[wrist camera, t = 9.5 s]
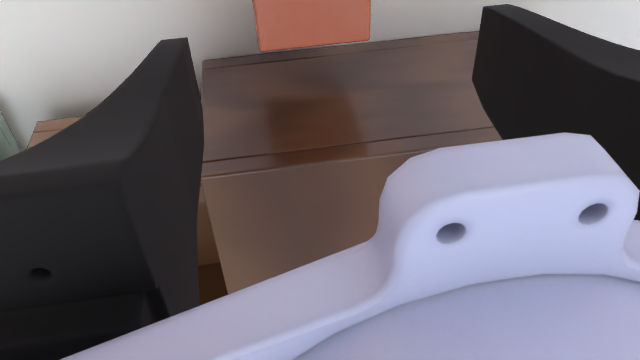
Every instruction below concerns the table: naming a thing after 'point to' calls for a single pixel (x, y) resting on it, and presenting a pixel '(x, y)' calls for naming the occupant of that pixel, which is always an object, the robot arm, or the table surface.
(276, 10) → the block
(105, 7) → the table surface
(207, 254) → the drawer
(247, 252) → the cabinet
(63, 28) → the table surface
